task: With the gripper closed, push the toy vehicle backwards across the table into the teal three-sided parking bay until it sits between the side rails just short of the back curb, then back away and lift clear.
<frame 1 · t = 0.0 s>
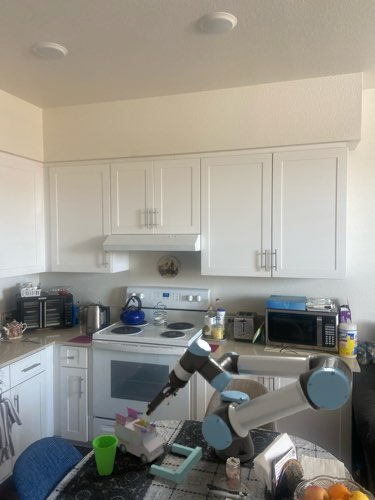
hand: (153, 411, 148), 15 cm above the table, tool tilted 35°, fingers open, 13 cm apart
cup: (105, 471, 135), on the table
toy vehicle: (138, 454, 146), on the table
parking bay: (167, 462, 141), on the table
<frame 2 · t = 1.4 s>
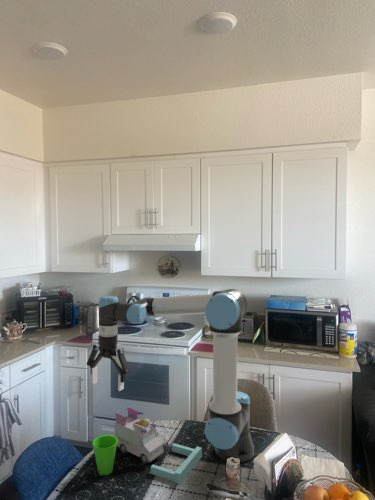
hand: (107, 386, 153), 24 cm above the table, tool pointing down, fingers open, 13 cm apart
nothing on the table moved.
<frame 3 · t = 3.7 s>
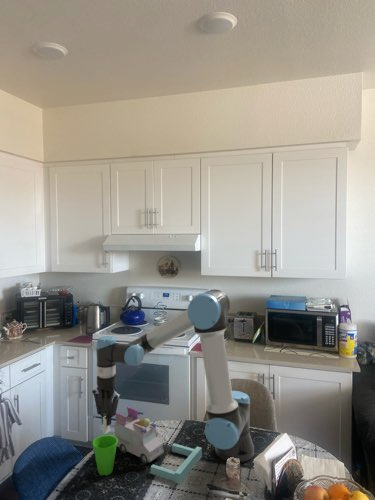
hand: (106, 432, 153), 5 cm above the table, tool pointing down, fingers closed
nothing on the table moved.
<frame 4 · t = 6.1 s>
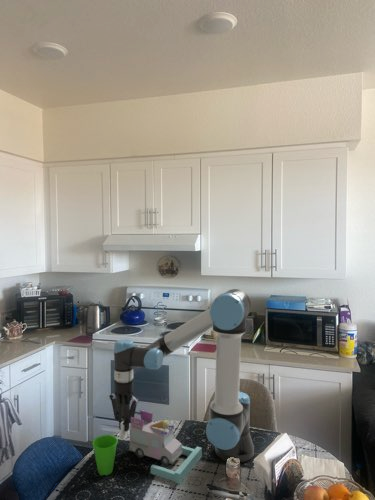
hand: (124, 438, 149), 4 cm above the table, tool pointing down, fingers closed
toy vehicle: (155, 457, 144), on the table, touching hand
everything else where it was.
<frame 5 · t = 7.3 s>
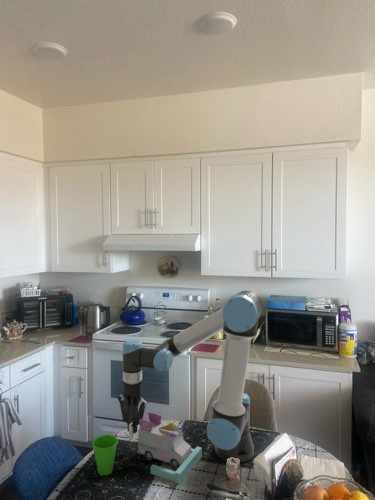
hand: (132, 440, 147), 5 cm above the table, tool pointing down, fingers closed
toy vehicle: (164, 459, 142), on the table, touching hand
everything else where it was.
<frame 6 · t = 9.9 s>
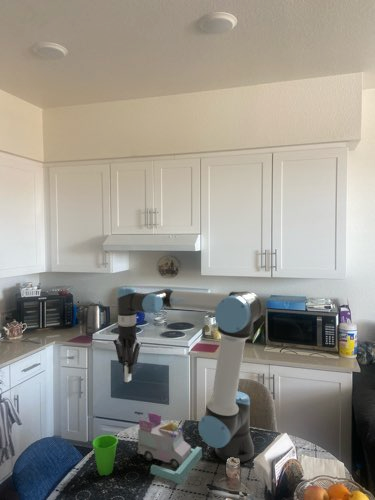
hand: (128, 380, 156), 24 cm above the table, tool pointing down, fingers closed
toy vehicle: (164, 459, 142), on the table
everything else where it was.
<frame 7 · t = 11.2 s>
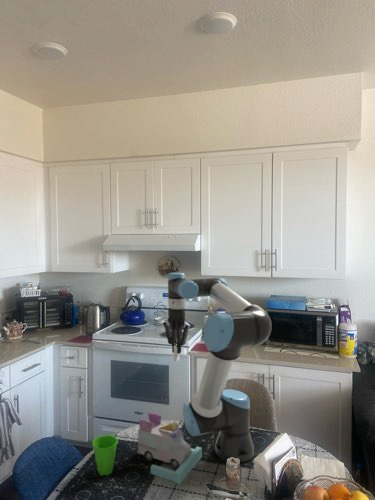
hand: (176, 360, 167), 29 cm above the table, tool pointing down, fingers closed
nothing on the table moved.
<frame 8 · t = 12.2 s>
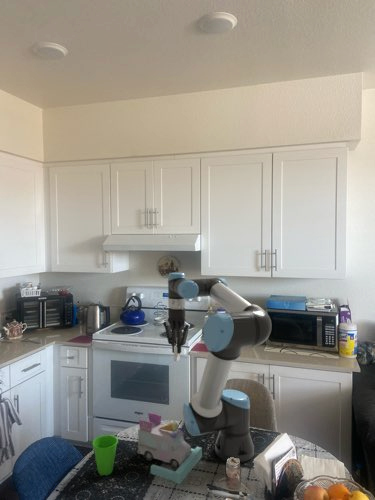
hand: (176, 360, 167), 29 cm above the table, tool pointing down, fingers closed
nothing on the table moved.
at the end: toy vehicle inside the target area on the parking bay (1.9 cm from its centre), point 0.0 cm above the parking bay's base; toy vehicle tilted 0°; the gripper is holding nothing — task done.
